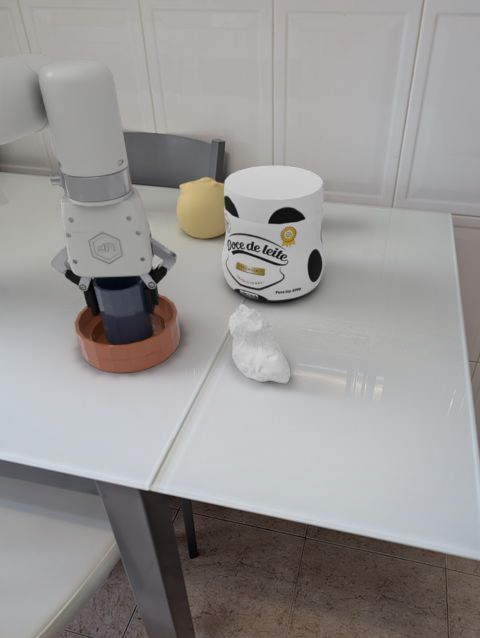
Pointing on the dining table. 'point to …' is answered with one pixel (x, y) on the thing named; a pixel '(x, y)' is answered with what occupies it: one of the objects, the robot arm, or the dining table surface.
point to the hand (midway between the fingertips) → (125, 308)
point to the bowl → (133, 354)
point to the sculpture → (202, 208)
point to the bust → (256, 347)
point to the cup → (123, 309)
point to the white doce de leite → (273, 232)
